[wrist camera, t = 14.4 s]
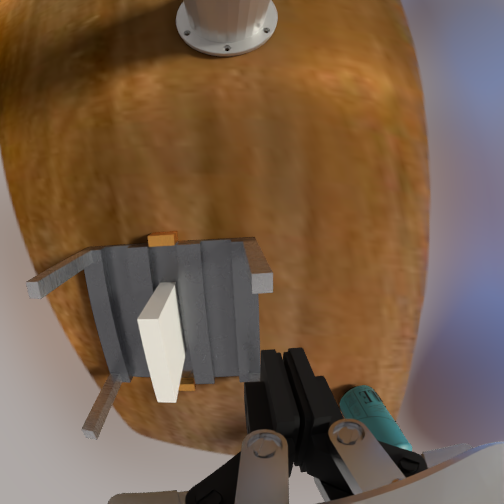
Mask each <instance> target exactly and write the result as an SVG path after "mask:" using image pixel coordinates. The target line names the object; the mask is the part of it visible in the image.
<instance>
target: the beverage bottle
mask: <svg viewBox="0 0 504 504" xmlns="http://www.w3.org/2000/svg"><path fill="white" fill-rule="evenodd" d="M378 396H379V395H378V394H377V393H376V392H375V390H373V389H372V388H371V387H369V386H365V385H362V386H357V387H355V388H353V389H351V390H349V391H348V392H347V393H346V394H345V395H344V396H343V397H342V399H341V401H340V410H341V412H342V413H341V414H342V415H343V417H344V419H355V420H358V421H360V422H362V423H364V424H365V425H366V426H367V428H368V429H369V430H370V432H371V433H372V434H373V435H374V437H375V438H376V439H377V440H378V441H381V442H384V443H387V444H390V445H393V446H396V447H399V448H402V449H405V450H409V451H412V446H411V444H410V443H409V442H408V441H407V439H406V438H405V436H404V435H403V433H402V432H401V429H400V428H399V427H398V425H397V423H396V421H394V419H393V418H392V416H391V415H390V413H389V412H388V410H387V409H386V406H384V405H383V403H382V402H383V401H381V398H380V397H378ZM379 398H380V399H379Z"/></svg>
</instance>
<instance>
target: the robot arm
mask: <svg viewBox="0 0 504 504" xmlns="http://www.w3.org/2000/svg"><path fill="white" fill-rule="evenodd" d="M277 20H278V16H277V10H276V7H275V5H274V4H273V2H272V1H271V0H184V1H183V2H182V4H181V5H180V7H179V9H178V11H177V15H176V26H177V30H178V32H179V34H180V36H181V38H182V39H183V40H184V42H185V43H186V44H188V45H189V46H190V47H192V48H193V49H195V50H197V51H199V52H202V53H205V54H208V55H214V56H235V55H241V54H244V53H248V52H251V51H253V50H255V49H257V48H259V47H260V46H262V45H263V44H265V43H266V42H267V41H268V40H269V39H270V37H271V36H272V34H273V33H274V31H275V28H276V25H277ZM265 32H267V33H265ZM187 35H188V36H187ZM225 50H229V51H225ZM244 401H245V415H246V425H247V436H246V437H245V438H244V440H243V443H242V449H241V451H240V452H239V453H238V454H237V455H235V456H234V457H233V458H232V459H230V460H229V461H228V462H227V463H226V464H224V465H223V466H222V467H220V468H219V469H217V470H216V471H215V472H214V473H212V474H211V475H209V476H208V477H207V478H205V479H204V480H202V481H201V482H200V483H198V484H197V485H195V486H194V487H192V488H191V489H190V490H189V491H184V492H177V490H173V491H163V492H148V493H122V494H117V495H115V496H113V497H111V499H110V500H109V501H108V504H289V477H290V475H291V471H292V467H293V462H294V465H295V466H300V470H301V472H307V474H309V475H311V476H313V477H314V481H315V484H316V486H317V488H318V490H319V492H320V493H321V495H322V497H323V499H324V501H325V502H323V503H318V504H504V442H493V443H488V444H484V445H481V446H477V447H475V448H473V447H472V446H470V445H468V444H457V445H453V446H449V447H445V448H441V449H435V450H431V451H425V452H423V453H422V454H421V455H419V454H417V453H415V452H412V451H409V450H405V449H402V448H399V447H396V446H393V445H390V444H387V443H384V442H381V441H378V440H377V439H376V438H375V437H374V435H373V434H372V433H371V432H370V430H369V429H368V428H367V426H366V425H365V424H364V423H362V422H360V421H358V420H355V419H344V418H343V416H342V414H341V412H340V410H339V407H338V405H337V403H336V401H335V399H334V397H333V394H332V392H331V390H330V388H329V386H328V384H327V381H326V379H325V378H324V376H316V377H315V376H314V373H313V371H312V368H311V366H310V364H309V361H308V359H307V357H306V354H305V352H304V350H303V348H289V349H288V352H284V354H283V360H282V356H281V353H276V351H275V349H274V350H261V365H260V381H258V382H244Z"/></svg>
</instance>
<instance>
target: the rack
mask: <svg viewBox="0 0 504 504" xmlns="http://www.w3.org/2000/svg"><path fill="white" fill-rule="evenodd" d="M83 269H84V272H85V277H86V283H87V288H88V293H89V297H90V302H91V306H92V311H93V315H94V319H95V323H96V327H97V331H98V334H99V338H100V342H101V345H102V348H103V352H104V355H105V358H106V362H107V365H108V368H109V371H110V374H109V376H108V378H107V380H106V382H105V384H104V386H103V387H102V389H101V391H100V393H99V396H98V397H97V399H96V401H95V403H94V405H93V407H92V409H91V411H90V413H89V415H88V417H87V419H86V421H85V423H84V425H83V427H82V431H83V433H84V435H85V436H86V438H90V439H96V440H97V439H98V437H99V434H100V432H101V429H102V427H103V424H104V422H105V419H106V417H107V415H108V413H109V410H110V408H111V406H112V404H113V401H114V399H115V397H116V395H117V392H118V390H119V388H120V386H121V383H122V382H131V380H132V378H133V376H136V377H151V376H150V372H149V369H148V365H147V361H146V357H145V352H144V348H143V344H142V339H141V335H140V330H139V325H138V321H137V319H138V317H139V315H140V314H141V312H142V311H143V309H144V307H145V306H146V304H147V302H148V301H149V299H150V298H151V296H152V294H153V293H154V291H155V290H156V288H157V286H158V285H159V283H163V282H176V287H177V295H178V302H179V310H180V317H181V324H182V331H183V337H184V344H185V350H186V355H185V360H184V365H183V370H182V375H181V380H180V385H179V390H178V391H195V387H196V384H214V383H215V377H225V376H239V379H240V382H258V381H260V338H259V304H258V293H272V292H273V272H272V270H271V268H270V266H269V264H268V262H267V260H266V258H265V256H264V254H263V252H262V251H261V249H260V247H259V245H258V243H257V241H256V239H255V237H243V238H224V239H206V240H188V241H178V234H177V231H170V232H155V233H152V234H150V235H149V236H148V243H139V244H124V245H110V246H95V247H88V248H86V249H84V250H82V251H80V252H78V253H77V254H75V255H73V256H71V257H69V258H67V259H65V260H64V261H62V262H60V263H58V264H56V265H55V266H53V267H51V268H49V269H47V270H46V271H44V272H42V273H40V274H39V275H37V276H35V277H34V278H32V279H30V280H29V281H27V282H26V285H27V289H28V293H29V297H30V298H38V299H39V298H40V299H41V298H43V297H44V296H46V295H47V294H48V293H50V292H51V291H53V290H54V289H55V288H57V287H58V286H60V285H61V284H62V283H64V282H65V281H67V280H68V279H70V278H71V277H73V276H74V275H76V274H77V273H78V272H80V271H81V270H83Z"/></svg>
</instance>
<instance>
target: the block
mask: <svg viewBox="0 0 504 504" xmlns="http://www.w3.org/2000/svg"><path fill="white" fill-rule="evenodd" d="M137 321H138V325H139V330H140V335H141V339H142V344H143V348H144V352H145V357H146V361H147V365H148V369H149V372H150V376H151V380H152V384H153V387H154V391H155V394H156V398H157V401H158V402H175V403H176V400H177V395H178V390H179V385H180V380H181V375H182V370H183V365H184V360H185V355H186V350H185V344H184V337H183V331H182V324H181V317H180V310H179V302H178V295H177V287H176V282H163V283H159V285H158V286H157V288H156V290H155V291H154V293H153V294H152V296H151V298H150V299H149V301H148V302H147V304H146V306H145V307H144V309H143V311H142V312H141V314H140V315H139V317H138V319H137Z"/></svg>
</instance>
